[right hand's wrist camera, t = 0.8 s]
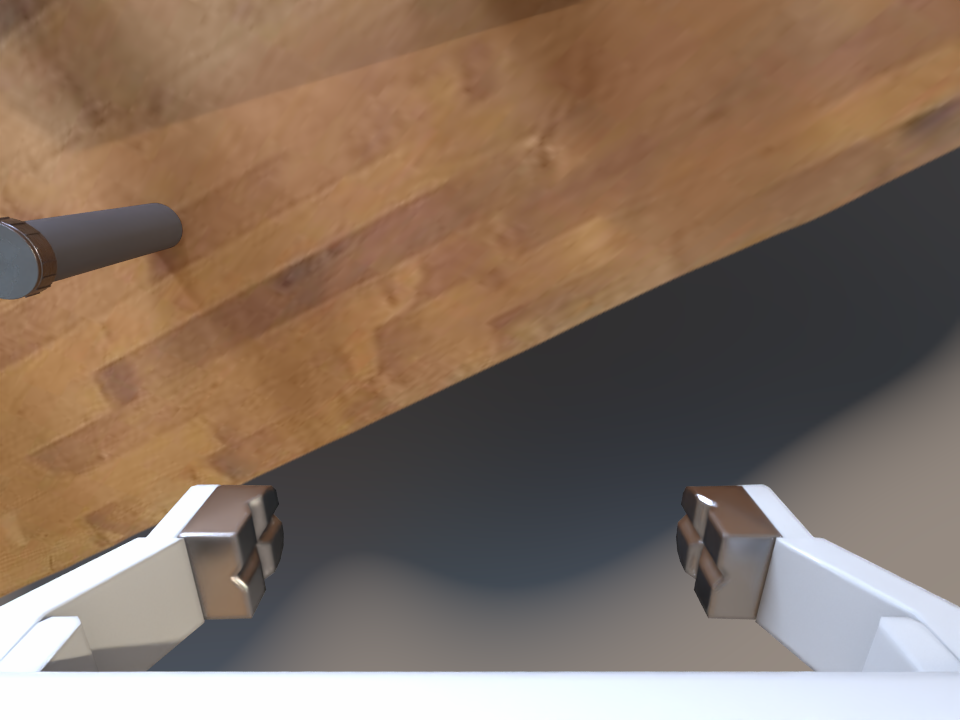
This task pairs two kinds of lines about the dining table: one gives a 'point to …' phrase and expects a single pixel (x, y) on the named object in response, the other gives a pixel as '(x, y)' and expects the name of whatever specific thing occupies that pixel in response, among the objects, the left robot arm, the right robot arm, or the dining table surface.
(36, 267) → the lid
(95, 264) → the dark grey cylinder
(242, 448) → the dining table surface
